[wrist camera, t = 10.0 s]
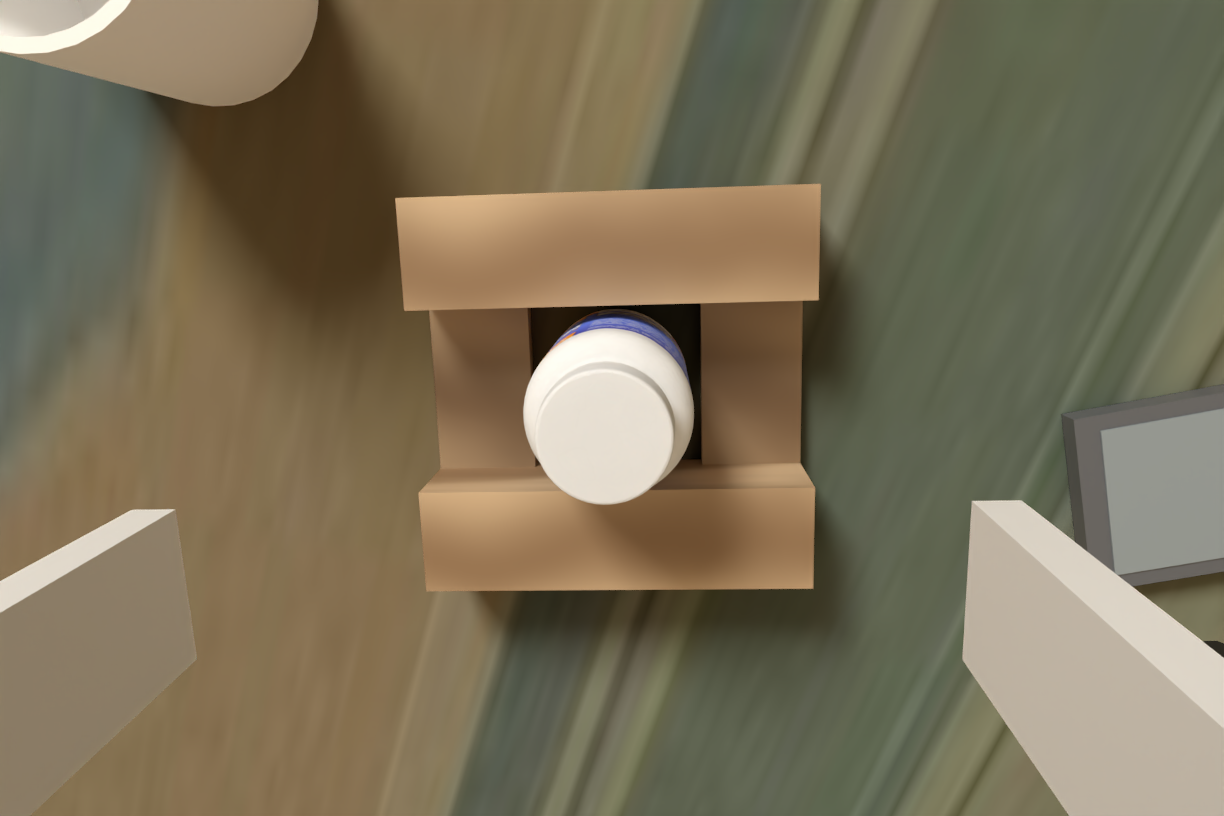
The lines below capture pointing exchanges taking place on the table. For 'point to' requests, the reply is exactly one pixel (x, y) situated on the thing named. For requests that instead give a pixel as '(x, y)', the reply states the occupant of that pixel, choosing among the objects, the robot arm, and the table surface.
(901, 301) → the table surface
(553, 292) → the socket holder
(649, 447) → the pill bottle
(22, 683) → the robot arm
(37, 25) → the cup
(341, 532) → the table surface
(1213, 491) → the phone slab
